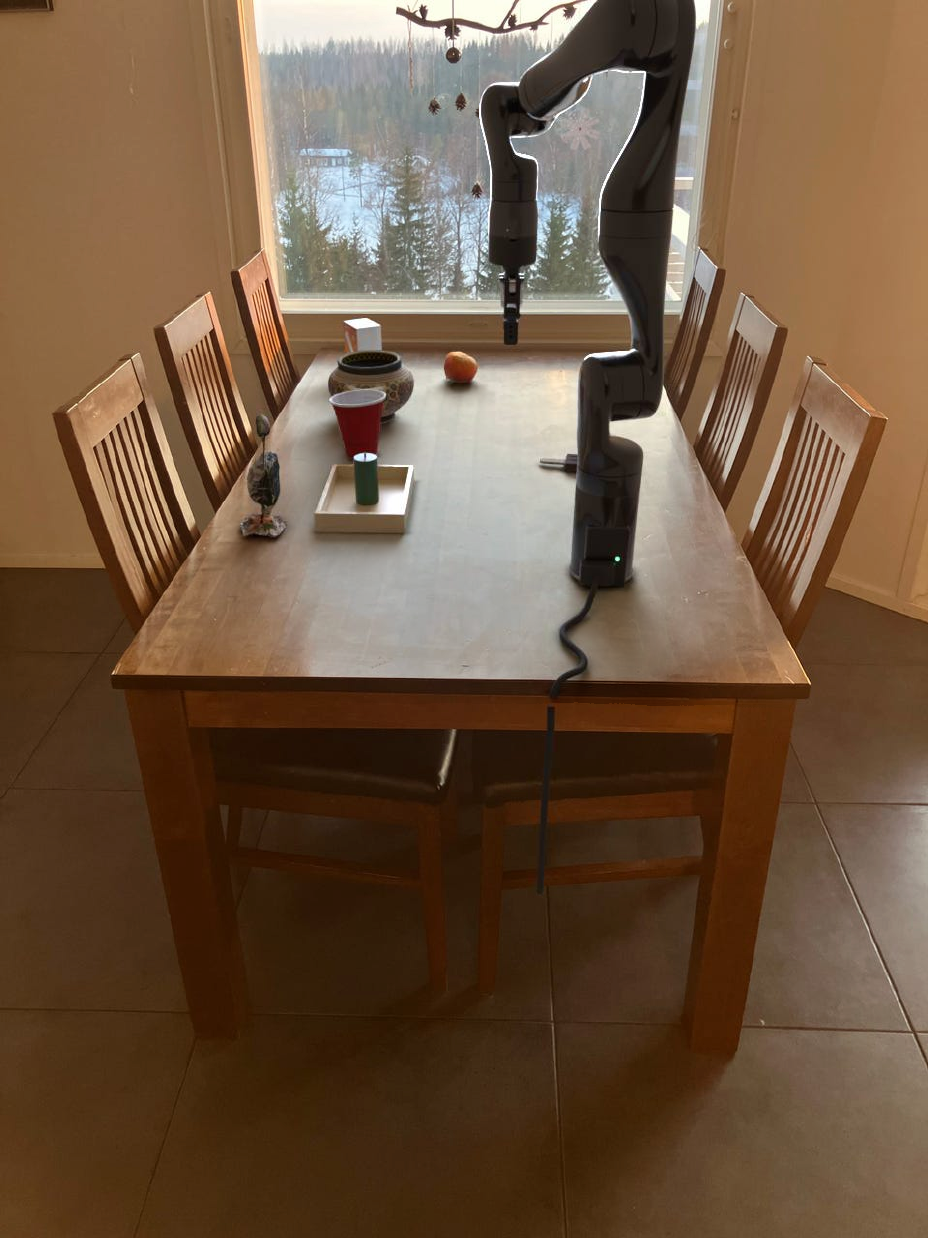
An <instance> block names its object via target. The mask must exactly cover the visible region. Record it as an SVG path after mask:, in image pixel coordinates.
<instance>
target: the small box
mask: <svg viewBox="0 0 928 1238" xmlns="http://www.w3.org/2000/svg"><path fill="white" fill-rule="evenodd" d="M343 335H344V352H345V353H344V354H347V353H351V352H356V351H366V350H382V351H383V346H382V345H383V343H382V326H381V324H379V323H377V322H376V321H373V320H371V319H369V318H366V317H365V318H357V319H349V320H343Z"/></svg>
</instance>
